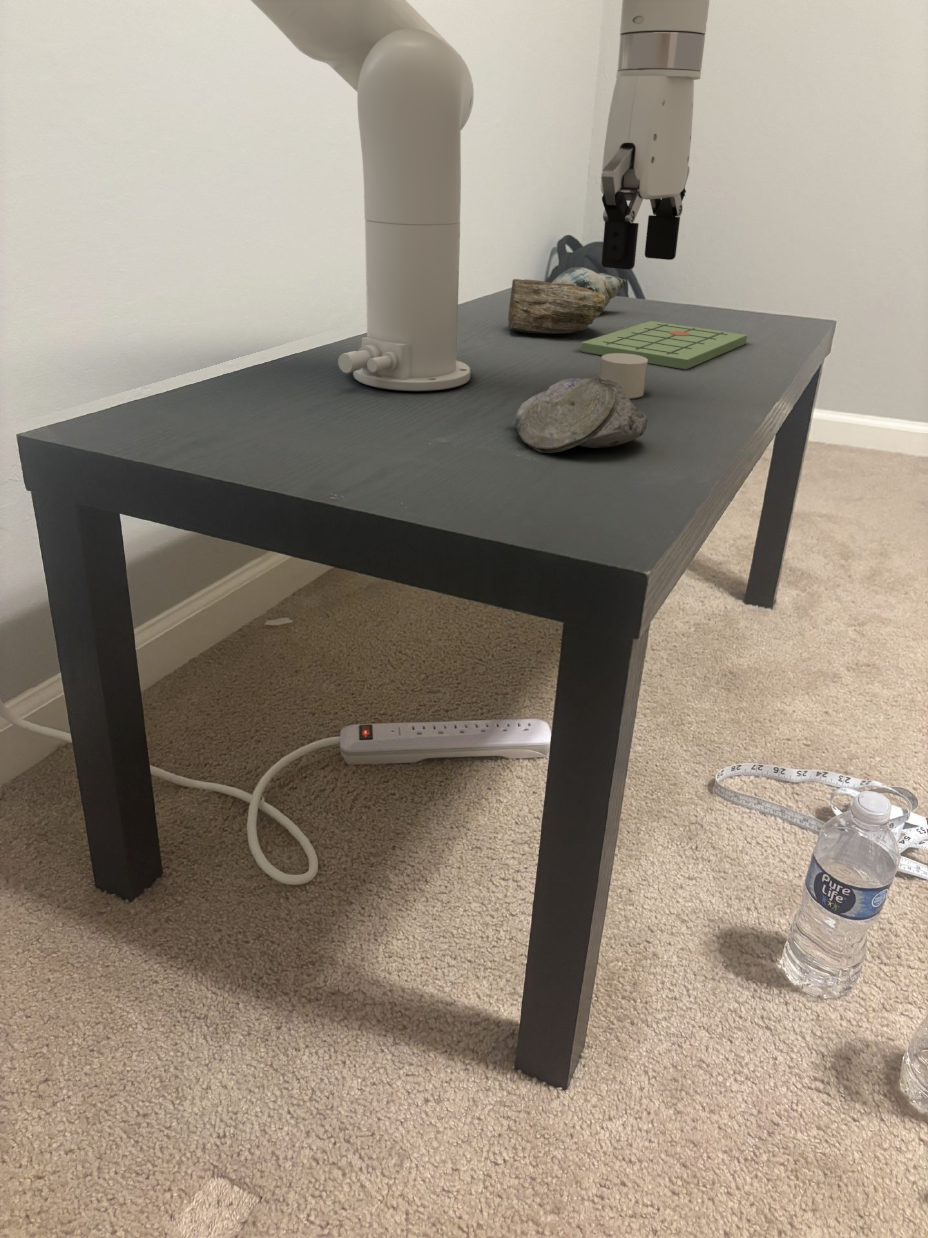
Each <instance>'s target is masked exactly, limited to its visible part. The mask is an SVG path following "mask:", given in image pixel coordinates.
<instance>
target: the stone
mask: <svg viewBox="0 0 928 1238" xmlns="http://www.w3.org/2000/svg"><path fill="white" fill-rule="evenodd" d="M511 282H512V283H511V292H510V298H509V304H508V313H507V314H508V315H507V316H508V317H507V321H508V328H509V330H511V331H515V332H522V333H528V334H548V335H549V334H551V335H558V334H574V333H578V332H580V331H584V330H585V329H587V328H588V327H589V326H590V325H592V324H593V323H594V321H595V320H596V319H598V318H599V317H600V315H602V313H603V312H604V310H605V309H606V307H605V304H606V302H605V296H604V295H603V294H602V293H600V292H595V291H591V290H590V289H587V288H583V287H578V286H576V285H573V284H564V283H555V282H553V281H552V282H553V283H552V282H549V281H548V282H547V281H541V280H537V279H521V278H520V279H519V278H513V279H512V281H511Z"/></svg>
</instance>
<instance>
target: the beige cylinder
mask: <svg viewBox="0 0 928 1238" xmlns="http://www.w3.org/2000/svg"><path fill="white" fill-rule="evenodd" d="M648 365H649V363H648V359H647V358H645V357H642V356H639V355H634V354H625V353H612V354H605V355H601V356H600V364H599V374H598V375H599V376H598V378H601V379H603V380H610V381H613V382H615V383H617V384H618V385H620V386H621V387H622V389H623V392H624V394H625V395H626V396H627V397H628V398H629V399H630V400H631V399H638V398H642V397H643V396H644V395H645V387H646V381H647V380H646V379H647V371H648Z"/></svg>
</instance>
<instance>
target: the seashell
mask: <svg viewBox="0 0 928 1238" xmlns="http://www.w3.org/2000/svg"><path fill="white" fill-rule="evenodd" d="M553 282H555V283H564V284H573V285H576V286H578V287H583V288H587V289H590V290H591V291H595V292H600V293H602V294H603V295H604V296H605V302H606V304H605V308H606V307H608V305H609V303H610V301H611V299H614V298H616V297H617V295H618V294H619V291H620V290H622V288H623V287H624V286H625V285H626V284H627V280H626V279H625V278H620V277H618V276H616V275H610V274H608V273H606V272H598V273H597V272H596V271H594V270H592V269H589V268H586V267H583V266H575V267H570V268H567V269H565V270H564V271H563V272H561V273H560V274H558V276H556V277H555V278H554V279H553V281H552V282H551V283H553Z"/></svg>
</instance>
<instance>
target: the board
mask: <svg viewBox="0 0 928 1238" xmlns="http://www.w3.org/2000/svg"><path fill="white" fill-rule="evenodd" d="M747 337H748V335H747V334H743V333H736V332H729V331H723V330H715V329H711V328H702V327H696V326H689V325H683V324H682V325H681V324H674V323H667V322H661V321H653V320H649V321H645V322H641V323H639V324H636V325H633V326H630V327H626V328H622V329H619V330H617V331H613V332H610V333H607V334H604V335H599V336H597V337H594V338H590V339H588V340H584V341H582V342H581V345H580V352H581V353H586V354H591V355H598V356H603V355H605V354H612V353H625V354H634V355H639V356H642V357H645V358H647V359H648V365H649V364H650V365H656V366H661V367H662V366H663V367H668V368H672V369H679V370H689V369H691V368H694V367H695V366H698V365H700V364H703V363H705V362H707V361H710V360H711V359H714V358H716V357H719V356H721V355H723V354H726V353H728V352H731V351H732V350H734V349H738V348H739V347H742V346H744V345H746V343H747Z"/></svg>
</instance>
